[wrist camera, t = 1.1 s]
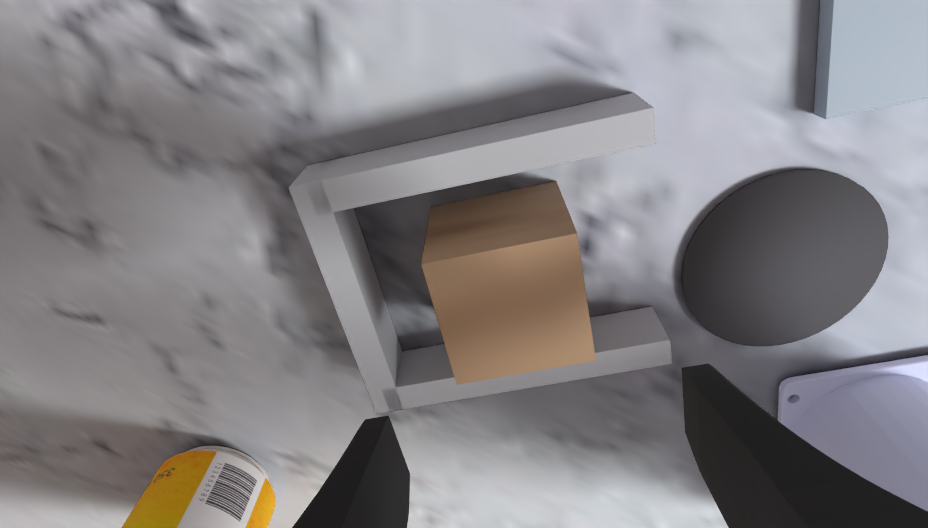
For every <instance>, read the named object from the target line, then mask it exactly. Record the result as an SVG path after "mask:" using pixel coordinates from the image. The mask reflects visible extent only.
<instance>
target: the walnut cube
mask: <svg viewBox="0 0 928 528" xmlns="http://www.w3.org/2000/svg"><path fill="white" fill-rule="evenodd" d="M421 266H422V269H423V272H424V276H425V279H426V282H427V286H428V289H429V293H430V296H431V299H432V303H433V306H434V310H435V313H436V316H437V320H438V323H439V327H440V330H441V333H442V337H443V340H444V343H445V347H446V350H447V354H448V357H449V360H450V364H451V367H452V371H453V374H454V377H455V381H456V384H457V385H458V384H464V383H470V382H476V381H482V380H487V379H493V378H499V377H505V376H511V375H516V374H522V373H528V372H534V371H540V370H545V369H551V368H557V367H563V366H569V365H574V364H580V363H586V362H592V361H596V357H595V351H594V344H593V337H592V330H591V324H590V317H589V310H588V303H587V297H586V290H585V283H584V276H583V270H582V263H581V256H580V249H579V243H578V236H577V232H576V229H575V227H574V224H573V222H572V219H571V217H570V214H569V212H568V209H567V207H566V205H565V202H564V200H563V197H562V195H561V192H560V190H559V187H558V185H557V182H556V181H553V182H548V183H543V184H539V185H534V186H529V187H524V188H519V189H515V190H510V191H505V192H500V193H496V194H491V195H486V196H481V197H476V198H472V199H467V200H462V201H457V202H453V203H448V204H443V205H438V206H433V207H431V209H430V215H429V221H428V227H427V233H426V239H425V244H424V250H423V256H422V262H421Z"/></svg>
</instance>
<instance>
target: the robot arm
mask: <svg viewBox="0 0 928 528" xmlns="http://www.w3.org/2000/svg"><path fill="white" fill-rule="evenodd" d="M682 381H683V399H684V418H685V433H686V435H687V438H688V441H689V444H690V446H691V449H692V452H693V454H694V457H695V460H696V462H697V465H698V467H699V470H700V472H701V474H702V476H703V478H704V480H705V482H706V484H707V486H708V488H709V490H710V492H711V494H712V496H713V498H714V500H715V502H716V504H717V506H718V508H719V510H720V512H721V514H722V515H723V517H724V519H725V521H726V523H727V525H728V527H729V528H928V355H925V356H919V357H913V358H907V359H900V360H894V361H888V362H882V363H876V364H870V365H863V366H857V367H851V368H845V369H839V370H833V371H826V372H820V373H814V374H808V375H802V376H796V377H790V378H787V379H785V380H783V381H782V382H781V384H780V386H779V400H778V420H776V419H775V418H774V417H773V416H771V415H770V414H769V413H767V412H766V411H765V410H763V409H762V408H761V407H760V406H758V405H757V404H756V403H755V402H753V401H752V400H751V399H750V398H749V397H747V396H746V395H745V394H744V393H743V392H741V391H740V390H739V389H738V388H737V387H736V386H734V385H733V384H732V383H731V382H730V381H729V380H727V379H726V378H725V377H724V376H723V375H722V374H721V373H719V372H718V371H717V370H716V369H715V368H714V367H712V366H711V365H709V364H703V365H697V366H691V367H685V368H682ZM792 395H794V396H792ZM790 396H792V397H790ZM789 397H790V398H789ZM409 489H410V473H409V470H408V467H407V465H406V462H405V459H404V456H403V454H402V451H401V448H400V446H399V443H398V440H397V437H396V435H395V432H394V429H393V427H392V424H391V421H390V418H389V416H384V417H378V418H372V419H365V421H364V422H363V423H362V425H361V427H360V428H359V430H358V431H357V433H356V434H355V436H354V438H353V439H352V441H351V443H350V444H349V446H348V447H347V449H346V451H345V452H344V454H343V455H342V457H341V458H340V460H339V462H338V463H337V465H336V466H335V468H334V469H333V471H332V472H331V474H330V475H329V477H328V478H327V480H326V481H325V483H324V484H323V486H322V487H321V489H320V490H319V492H318V493H317V495H316V496H315V497H314V499H313V500H312V502H311V503H310V504H309V506H308V507H307V508H306V510H305V511H304V512H303V514H302V515H301V517H300V518H299V519H298V521H297V522H296V523H295V525H294V526H293V527H292V528H407V522H408V515H409Z"/></svg>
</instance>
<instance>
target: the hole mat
mask: <svg viewBox="0 0 928 528" xmlns="http://www.w3.org/2000/svg"><path fill="white" fill-rule="evenodd" d="M887 248H888V228H887V222H886V219H885V216H884V213H883V211H882V209H881V207H880V205H879V203H878V202H877V201H876V200H875V198H874V197H873V196H872V195H871V194H870V193H869V192H868V191H867V190H866V189H865V188H864V187H862V186H860V185H859V184H857V183H856V182H854V181H852V180H850V179H849V178H846V177H844V176H841V175H839V174H836V173H832V172H828V171H823V170H813V169H803V170H792V171H785V172H780V173H776V174H773V175H769V176H766V177H764V178H761V179H758V180H756V181H754V182H752V183H750V184H748V185H746V186H744V187H742V188H740V189H739V190H737V191H736V192H734V193H733V194H731V195H730V196H728V197H727V198H726V199H725V200H723V201H722V202H721V203H720V204H718V205H717V206H716V207H715V208H714V209H713V210H712V211H711V212H710V213H709V214H708V216H707V217H706V218H705V219H704V220H703V222H702V223H701V224H700V226H699V227H698V229H697V230H696V232H695V234H694V235H693V237H692V239H691V241H690V243H689V245H688V248H687V251H686V254H685V257H684V261H683V267H682V286H683V292H684V295H685V299H686V301H687V303H688V305H689V307H690V309H691V311H692V313H693V314H694V315H695V317H696V318H697V319H698V321H699V322H700V323H701V324H702V325H703V326H704V327H705V328H706V329H708V330H709V331H710V332H712V333H713V334H715V335H717V336H719V337H721V338H722V339H725V340H728V341H730V342H733V343H737V344H742V345H748V346H774V345H782V344H786V343H791V342H795V341H798V340H801V339H804V338H807V337H809V336H812V335H814V334H816V333H819V332H820V331H822V330H824V329H826V328H828V327H830V326H831V325H833V324H834V323H836V322H837V321H839V320H840V319H842V318H843V317H844V316H845V315H846V314H848V313H849V312H850V311H851V310H852V309H853V308H854V307H855V306H856V305H857V304H858V303H860V302H861V300H862V299H863V298H864V297H865V295H866V294H867V293H868V292H869V290H870V289H871V287H872V286H873V284H874V283H875V281H876V279H877V278H878V276H879V274H880V272H881V269H882V267H883V264H884V261H885V258H886V253H887Z"/></svg>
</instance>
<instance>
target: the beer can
mask: <svg viewBox="0 0 928 528" xmlns="http://www.w3.org/2000/svg"><path fill="white" fill-rule="evenodd" d="M275 502H276V501H275V493H274V490H273V488H272V486H271V484H270V481H269V478H268V476H267V474H266V472H265V470H264V469H263V468H262V467H261V465H260V464H259V463H257V462H256V461H255V460H254V459H252V458H251V457H250V456H248V455H246V454H244V453H242V452H240V451H237V450H235V449H231V448H228V447H223V446H201V447H196V448H193V449H190V450H188V451H186V452H183V453H180V454H177V455H175V456H173V457H171V458H169V459H168V460H166V461H165V462H164V463H163V464H162V465H161V466H160V467H159V469H158V471H157V472H156V474H155V475H154V477H153V479H152V480H151V482H150V483H149V485H148V487H147V488H146V490H145V491H144V493H143V494H142V496H141V498H140V499H139V501H138V502H137V504H136V506H135V507H134V509H133V510H132V512H131V514H130V515H129V517H128V518H127V520H126V522H125V523H124V525H123V526H122V528H267V527H268V525H269V522H270V519H271V516H272V514H273V511H274V508H275Z"/></svg>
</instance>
